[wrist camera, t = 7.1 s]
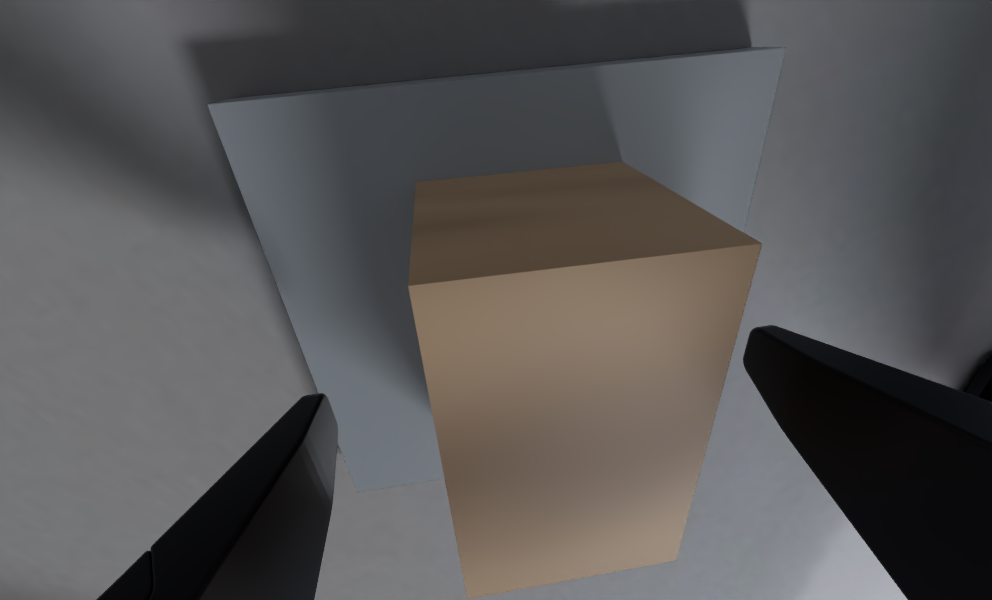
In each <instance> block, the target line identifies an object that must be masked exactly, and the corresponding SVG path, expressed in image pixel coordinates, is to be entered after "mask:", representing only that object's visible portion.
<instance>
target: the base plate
mask: <svg viewBox="0 0 992 600" xmlns="http://www.w3.org/2000/svg"><path fill="white" fill-rule="evenodd" d="M785 50H786V47H752V48H741V49H731V50H721V51H711V52H701V53H690V54H680V55H670V56H660V57H649V58H639V59H629V60H619V61H608V62H598V63H588V64H578V65H568V66H557V67H547V68H537V69H527V70H516V71H506V72H496V73H486V74H475V75H465V76H455V77H445V78H434V79H424V80H414V81H404V82H394V83H383V84H373V85H363V86H353V87H342V88H332V89H322V90H312V91H301V92H291V93H281V94H271V95H261V96H250V97H240V98H230V99H225V100H222V101H218V102H214V103H211V104H207V106H208V108H209V111H210V113H211V116H212V119H213V121H214V124H215V126H216V129H217V132H218V134H219V137H220V139H221V142H222V144H223V147H224V150H225V152H226V155H227V157H228V160H229V163H230V165H231V168H232V170H233V173H234V176H235V178H236V181H237V183H238V186H239V189H240V191H241V194H242V196H243V199H244V201H245V204H246V207H247V209H248V212H249V214H250V217H251V220H252V222H253V225H254V227H255V230H256V233H257V235H258V238H259V240H260V243H261V245H262V248H263V251H264V253H265V256H266V258H267V261H268V264H269V266H270V269H271V271H272V274H273V277H274V279H275V282H276V284H277V287H278V289H279V292H280V295H281V297H282V300H283V302H284V305H285V308H286V310H287V313H288V315H289V318H290V321H291V323H292V326H293V328H294V331H295V334H296V336H297V339H298V341H299V344H300V346H301V349H302V352H303V354H304V357H305V359H306V362H307V365H308V367H309V370H310V372H311V375H312V378H313V380H314V383H315V385H316V388H317V390H318V393H323V394H325V395H326V396H327V397H328V399H329V402H330V405H331V407H332V410H333V413H334V415H335V418H336V421H337V424H338V445H339V447H340V450H341V453H342V455H343V458H344V460H345V463H346V466H347V468H348V471H349V473H350V476H351V479H352V481H353V484H354V486H355V489H356V491H357V493H359V492H365V491H371V490H377V489H383V488H389V487H395V486H401V485H407V484H412V483H418V482H424V481H430V480H436V479H442V478H444V473H443V467H442V462H441V457H440V452H439V446H438V441H437V436H436V430H435V425H434V420H433V415H432V409H431V404H430V399H429V394H428V388H427V383H426V378H425V372H424V367H423V362H422V357H421V351H420V346H419V341H418V335H417V330H416V325H415V320H414V314H413V309H412V304H411V299H410V293H409V288H408V281H409V268H410V255H411V241H412V228H413V215H414V202H415V188H416V182H423V181H433V180H443V179H453V178H463V177H473V176H483V175H493V174H503V173H513V172H523V171H533V170H543V169H553V168H564V167H574V166H584V165H594V164H604V163H614V162H624V163H626V164H628V165H630V166H631V167H633V168H635V169H636V170H638V171H640V172H641V173H643V174H645V175H646V176H648V177H650V178H652V179H653V180H655V181H657V182H658V183H660V184H662V185H663V186H665V187H667V188H669V189H670V190H672V191H674V192H675V193H677V194H679V195H680V196H682V197H684V198H686V199H687V200H689V201H691V202H692V203H694V204H696V205H697V206H699V207H701V208H702V209H704V210H706V211H708V212H709V213H711V214H713V215H714V216H716V217H718V218H719V219H721V220H723V221H725V222H726V223H728V224H730V225H731V226H733V227H735V228H736V229H738V230H740V231H741V232H743V233H744V230H745V225H746V221H747V216H748V212H749V208H750V203H751V199H752V195H753V190H754V186H755V181H756V177H757V173H758V168H759V164H760V160H761V155H762V151H763V147H764V142H765V138H766V133H767V129H768V125H769V120H770V116H771V112H772V107H773V103H774V98H775V94H776V90H777V85H778V81H779V77H780V72H781V68H782V64H783V59H784V55H785Z"/></svg>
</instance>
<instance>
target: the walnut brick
mask: <svg viewBox="0 0 992 600" xmlns="http://www.w3.org/2000/svg"><path fill="white" fill-rule="evenodd" d="M761 246H762V243H760V242H758V241H757V240H755V239H753V238H752V237H750V236H748V235H747V234H745V233H743V232H741V231H740V230H738V229H736V228H735V227H733V226H731V225H730V224H728V223H726V222H725V221H723V220H721V219H719V218H718V217H716V216H714V215H713V214H711V213H709V212H708V211H706V210H704V209H702V208H701V207H699V206H697V205H696V204H694V203H692V202H691V201H689V200H687V199H686V198H684V197H682V196H680V195H679V194H677V193H675V192H674V191H672V190H670V189H669V188H667V187H665V186H663V185H662V184H660V183H658V182H657V181H655V180H653V179H652V178H650V177H648V176H646V175H645V174H643V173H641V172H640V171H638V170H636V169H635V168H633V167H631V166H630V165H628V164H626V163H624V162H614V163H604V164H594V165H584V166H574V167H564V168H553V169H543V170H533V171H523V172H513V173H503V174H493V175H483V176H473V177H463V178H453V179H443V180H433V181H423V182H416V188H415V202H414V215H413V228H412V241H411V255H410V268H409V281H408V288H409V293H410V299H411V304H412V309H413V314H414V320H415V325H416V330H417V335H418V341H419V346H420V351H421V357H422V362H423V367H424V372H425V378H426V383H427V388H428V394H429V399H430V404H431V409H432V415H433V420H434V425H435V430H436V436H437V441H438V446H439V452H440V457H441V462H442V467H443V473H444V478H445V483H446V489H447V494H448V499H449V504H450V510H451V515H452V520H453V525H454V531H455V536H456V541H457V547H458V552H459V557H460V562H461V568H462V573H463V578H464V584H465V589H466V594H467V599H469V598H475V597H480V596H486V595H491V594H497V593H502V592H508V591H513V590H518V589H524V588H529V587H535V586H540V585H546V584H551V583H556V582H562V581H567V580H573V579H578V578H584V577H589V576H595V575H600V574H605V573H611V572H616V571H622V570H627V569H633V568H638V567H644V566H649V565H654V564H660V563H665V562H671V561H676V558H677V555H678V551H679V547H680V544H681V540H682V536H683V533H684V529H685V525H686V522H687V518H688V514H689V511H690V507H691V503H692V500H693V496H694V492H695V489H696V485H697V481H698V478H699V474H700V470H701V467H702V463H703V459H704V455H705V452H706V448H707V444H708V441H709V437H710V433H711V430H712V426H713V422H714V419H715V415H716V411H717V408H718V404H719V400H720V397H721V393H722V389H723V386H724V382H725V378H726V375H727V371H728V367H729V363H730V360H731V356H732V352H733V349H734V345H735V341H736V338H737V334H738V330H739V327H740V323H741V319H742V316H743V312H744V308H745V305H746V301H747V297H748V294H749V290H750V286H751V283H752V279H753V275H754V271H755V268H756V264H757V260H758V257H759V253H760V249H761Z"/></svg>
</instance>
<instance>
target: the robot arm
mask: <svg viewBox="0 0 992 600" xmlns="http://www.w3.org/2000/svg"><path fill="white" fill-rule="evenodd" d="M743 363H744V367H745V369H746V371H747V373H748V374H749V376H750V378H751V379H752V381H753V383H754V384H755V386H756V388H757V389H758V391H759V393H760V394H761V396H762V398H763V399H764V401H765V403H766V404H767V406H768V408H769V409H770V411H771V413H772V414H773V416H774V418H775V419H776V421H777V423H778V424H779V426H780V427H781V429H782V430H783V432H784V433H785V435H786V436H787V437H788V439H789V440H790V441H791V443H792V444H793V446H794V447H795V448H796V450H797V451H798V452H799V454H800V455H801V456H802V458H803V459H804V460H805V462H806V463H807V464H808V466H809V467H810V468H811V470H812V471H813V473H814V474H815V475H816V477H817V478H818V479H819V481H820V482H821V483H822V485H823V486H824V487H825V489H826V490H827V491H828V493H829V494H830V495H831V497H832V498H833V499H834V501H835V502H836V504H837V505H838V506H839V508H840V509H841V510H842V512H843V513H844V514H845V516H846V517H847V518H848V520H849V521H850V522H851V524H852V525H853V526H854V528H855V529H856V530H857V532H858V533H859V535H860V536H861V537H862V539H863V540H864V541H865V543H866V544H867V545H868V547H869V548H870V549H871V551H872V552H873V553H874V555H875V556H876V557H877V559H878V560H879V561H880V563H881V564H882V566H883V567H884V568H885V570H886V571H887V572H888V574H889V575H890V576H891V578H892V579H893V580H894V582H895V583H896V584H897V586H898V587H899V588H900V590H901V591H902V593H903V594H904V595H905V597H906V598H907V599H908V600H992V355H991V356H990V357H989V358H987V360H986V361H985V362H984V363H983V365H982V366H981V368H980V370H979V371H978V373H977V374H976V376H975V377H974V379H973V381H972V382H971V384H970V385H969V387H968V388H967V390H966V392H965V393H964V392H961V391H959V390H956V389H953V388H950V387H947V386H944V385H942V384H939V383H936V382H933V381H930V380H927V379H925V378H922V377H919V376H916V375H913V374H910V373H908V372H905V371H902V370H899V369H896V368H893V367H891V366H888V365H885V364H882V363H879V362H876V361H874V360H871V359H868V358H865V357H862V356H859V355H857V354H854V353H851V352H848V351H845V350H842V349H840V348H837V347H834V346H831V345H828V344H825V343H823V342H820V341H817V340H814V339H811V338H808V337H806V336H803V335H800V334H797V333H794V332H791V331H789V330H786V329H783V328H780V327H777V326H773V325H769V326H762V327H756V328H754V329H752V331H751V332H750V334H749V338H748V342H747V345H746V349H745V353H744V357H743ZM337 443H338V424H337V421H336V418H335V415H334V413H333V410H332V407H331V405H330V402H329V399H328V397H327V396H326V395H325V394H323V393H318V394H312V395H306V396H303V397H302V398H301V399H300V400H299V401H298V402H297V403H296V404H295V405H294V406H292V407H291V408H290V409H289V410H288V411H287V412H286V413H285V414H284V415H283V416H282V417H281V418H280V419H279V420H278V421H277V422H276V423H275V424H274V425H273V426H272V427H271V428H270V429H269V430H268V431H267V432H266V433H265V434H264V435H263V436H262V437H261V438H260V439H259V440H258V441H257V442H256V443H255V444H254V445H253V446H252V447H251V448H250V449H249V450H248V451H247V452H246V453H245V454H244V455H243V456H242V457H241V458H240V459H239V460H238V461H237V462H236V463H235V464H234V465H233V466H232V467H231V468H230V469H229V470H228V471H227V472H226V473H225V474H224V475H223V476H222V477H221V478H220V479H219V480H218V481H217V482H216V483H215V484H214V485H213V486H212V487H211V488H210V489H209V490H208V491H207V492H206V493H205V494H204V495H203V496H202V497H201V498H200V499H199V500H198V501H197V502H196V503H195V504H194V505H193V506H192V507H191V508H190V509H189V510H187V511H186V512H185V513H184V514H183V515H182V516H181V517H180V518H179V519H178V520H177V521H176V522H175V523H174V524H173V525H172V526H171V527H170V528H169V529H168V530H167V531H166V532H165V533H164V534H163V535H162V536H161V537H160V538H159V539H158V540H157V541H156V542H155V543H154V544H153V545H152V546H151V551H146V552H145V553H144V554H143V555H142V556H141V557H140V558H139V559H138V560H137V561H136V562H135V563H134V564H133V565H132V566H131V567H130V568H129V569H128V570H127V571H126V572H125V573H124V574H123V575H122V576H121V577H119V578H118V579H117V580H116V581H115V582H114V583H113V584H112V585H111V586H110V587H109V588H108V589H107V590H106V591H105V592H104V593H103V594H102V595H101V596H100V597H99V598H98V599H97V600H314V598H315V593H316V588H317V582H318V577H319V572H320V567H321V562H322V557H323V552H324V547H325V542H326V537H327V532H328V527H329V521H330V516H331V510H332V503H333V494H334V481H335V468H336V455H337Z"/></svg>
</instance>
